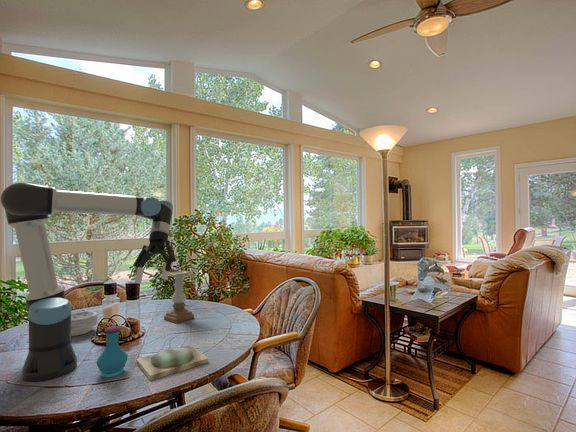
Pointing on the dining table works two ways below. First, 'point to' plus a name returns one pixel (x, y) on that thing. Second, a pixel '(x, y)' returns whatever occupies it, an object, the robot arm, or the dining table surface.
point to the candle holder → (178, 300)
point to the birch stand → (171, 361)
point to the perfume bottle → (112, 355)
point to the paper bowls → (82, 322)
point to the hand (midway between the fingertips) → (150, 281)
